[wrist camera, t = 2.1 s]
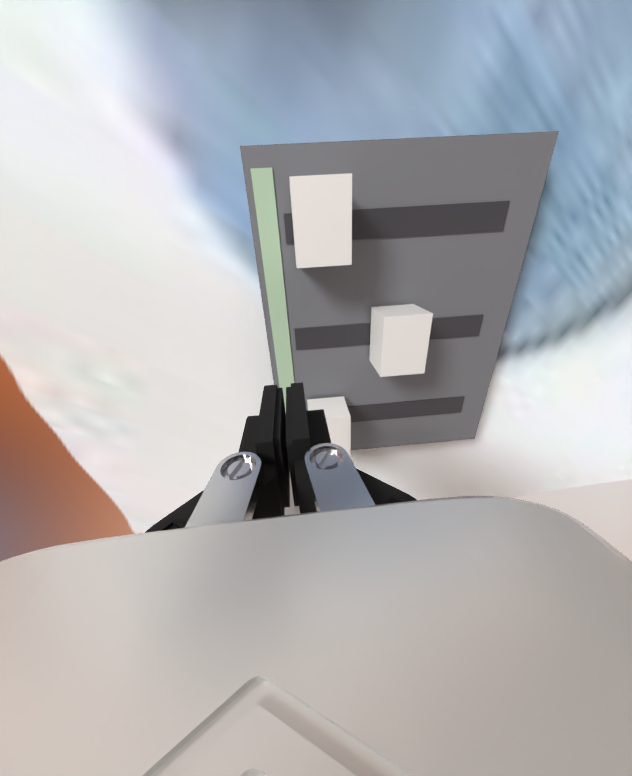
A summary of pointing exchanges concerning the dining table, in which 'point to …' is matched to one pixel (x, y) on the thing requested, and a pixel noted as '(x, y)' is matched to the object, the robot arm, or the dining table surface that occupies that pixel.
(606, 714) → the robot arm
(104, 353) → the dining table surface
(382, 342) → the handle
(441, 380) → the breaker panel
